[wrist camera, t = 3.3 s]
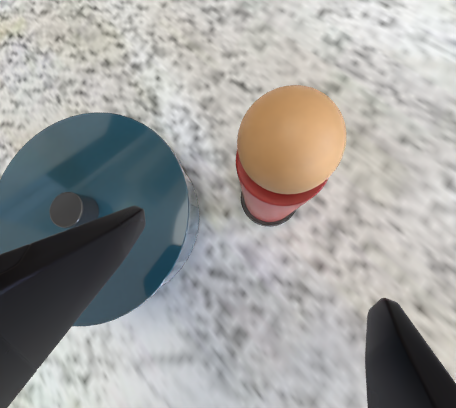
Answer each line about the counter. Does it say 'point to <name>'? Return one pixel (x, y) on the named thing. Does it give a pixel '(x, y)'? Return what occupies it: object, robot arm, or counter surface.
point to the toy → (287, 151)
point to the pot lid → (100, 199)
